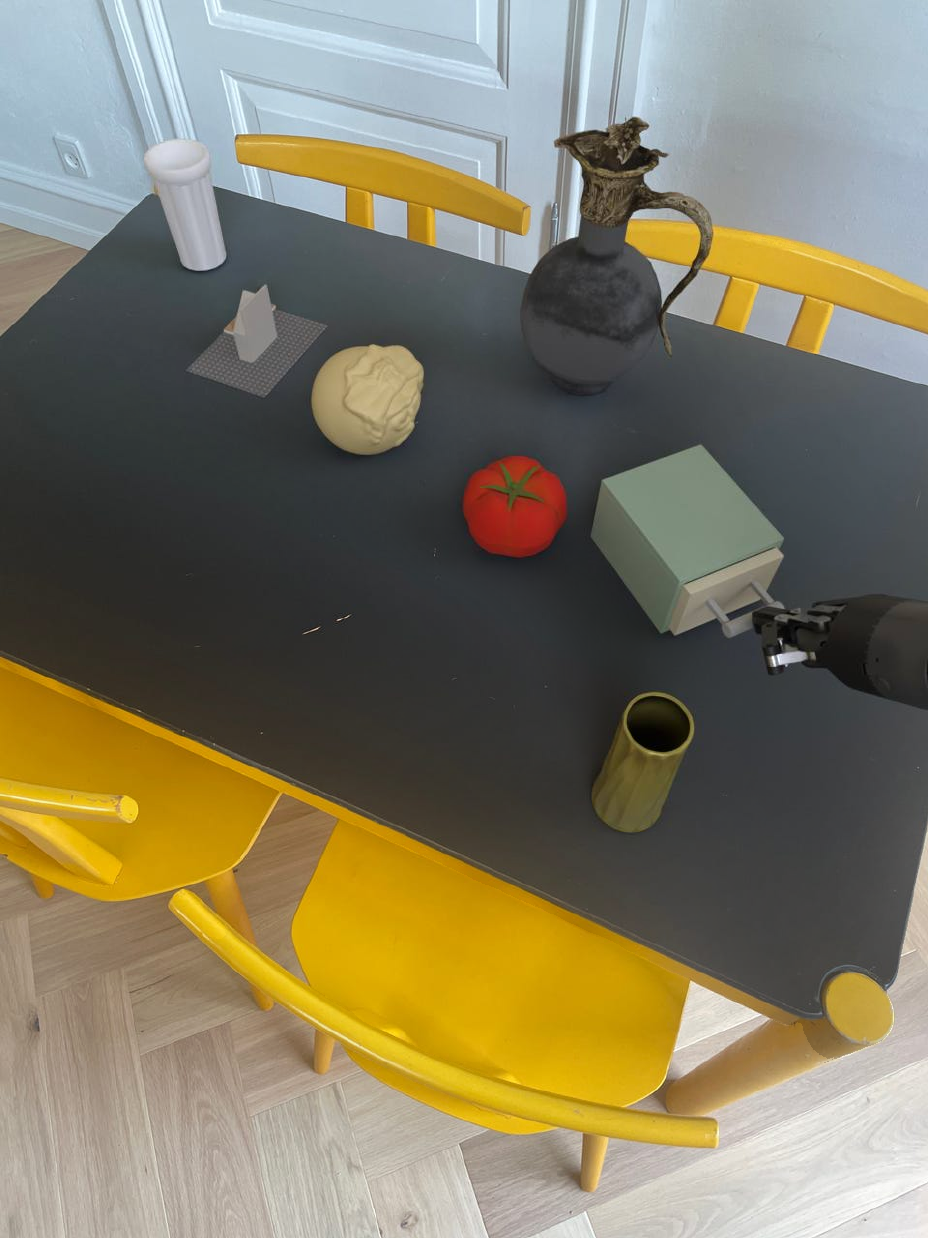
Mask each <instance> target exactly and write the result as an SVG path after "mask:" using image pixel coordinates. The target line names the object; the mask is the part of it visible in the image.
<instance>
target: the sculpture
mask: <svg viewBox="0 0 928 1238" xmlns="http://www.w3.org/2000/svg"><path fill="white" fill-rule="evenodd" d="M424 373H425V372H424V367H423V365H422V363H421V362H419V360H417V359H416V358H415V356H414V355H413V353H412V352H411V351H410V350H409V349H408V348H406V347H405V346H402V345H396V344H395V345H393V344H392V345H389V346H388V345H387V346H381V345H378V344H375V343H374V344H370V345H368V346H367V345H366V346H365V345H364V346H363V345H361V346H353V347H352V346H351V347H348V348H345V349H343V350H341V351H339V352H337V353H335V354H333V355H332V356H331V357H329V358H328V359H327V360H326V361H325V363H323V365H322V366H321V368H320V369H319V371H318V373H317V375H316V377H315V379H314V382H313V385H312V390H311V410H312V414H313V418H314V420H315V422H316V424H317V426H318V428H319V430H320V432H322V434H323V435H324V437H326V439H328V440H329V441H330V442H331V443H332V444H333V445H335V446H336V447H338V448H339V449H341V450H343V451H346V452H348V453H352V454H355V455H362V456H372V455H379V454H381V453H385V452H387V451H389V450H391V449H393V448H395V447H399V446H400V445H402V443H403V442H405V440H407V439H408V438H409V436H410V434H411V433H412V432H413V430H414V428H415V425H416V424H415V419H416V415H417V413H418V412H419V409H420V406H421V399H422V394H421V392H422V389H423V387H424V375H425V374H424Z"/></svg>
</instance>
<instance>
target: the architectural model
mask: <svg viewBox="0 0 928 1238" xmlns="http://www.w3.org/2000/svg"><path fill="white" fill-rule="evenodd" d="M327 328H328V325H326V324H323V323H321V322H317V321H313V320H310V319H308V318H305V317H302V316H298V315H294V314H291V313H288V312H285V311H282V310H279V309H277V307H276V304H273V303H271V298H270V293H269V289H268V285H267V284H264V285H263V286H261V288H260V287H258V288H257V292H256V293H255V292H251V291H249V290H245V289H243V290H242V293H241V297H240V302H239V305H238V309H237V313H236V316H235V317H234V318H233V319H232V320H231V321H230V322H229V323H228V324H227V325H226V326H225V327H224V328H223V332H222V333H221V334H220V335H219V336H218V337H217V338H216V339H215V341H214V342H212V343H211V344H210V345H209V346H208V348H206V349H205V350H204V351H203V353H202V354H200V356H198V358H197V359H196V360H195V361H194V362H193V363H192V364H190V366H189V367H188V368H187V369H186V370H185V371H186V372H188V373H191V374H193V375H197V376H199V377H203V378H206V379H209V380H213V381H215V382H217V383H221V384H223V385H225V386H229V387H232V388H235V389H238V390H240V391H244V392H247V393H249V394H252V395H255V396H259V397H261V398H264V399H265V398H266V397H267V395H269V393H271V391H272V390H273V389H274V388H275V386H276V385H277V384H278V383H279V382H280V381H281V380H282V379H283V377H284V376H286V375H287V373H288V372H289V370H291V368H292V367H293V366H294V365H296V363H297V361H299V359H300V358H302V356H303V355H304V354H305V353H306V351H307V350H308V349H310V347H311V346H312V344H314V343H315V341H316V340H317V339H318V338H319V337H320V336H321V334H322V333H323V332H324V331H325V330H326V329H327Z"/></svg>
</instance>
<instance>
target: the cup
mask: <svg viewBox="0 0 928 1238" xmlns="http://www.w3.org/2000/svg"><path fill="white" fill-rule="evenodd" d="M211 161H212V159H211V151H210V150H209V149H208V148H207V146H206V145H205V144H204V143H202V142H200V141H198V140H197V139H196V140H195V139H189V138H171V139H167V140H163V141H160V142H157V143H156V144H154V145H152V146H150V147H149V149H148V150H147V151H145V152H144V158H143V164H144V166H145V168H146V171H147V172H148V174H149V176H151V178H152V180H153V183H154V185H155V188H156V191H157V194H158V197H159V200H160V203H161V206H162V209H163V212H164V215H165V218H166V221H167V224H168V227H169V230H170V233H171V236H172V238H173V242H174V245H175V247H176V250H177V251H176V252H177V253H178V257H179V261H180V264H181V265H182V266H183V267H184V268H187V269H188V270H192V271H197V272H198V271H209V270H212V269H216V268H217V267H220V265H222V264H223V263H224V262H225V260H226V259H227V251H226V245H225V241H224V237H223V232H222V227H221V226H222V225H221V221H220V217H219V212H218V211H219V210H218V207H217V201H216V196H215V190H214V186H213V180H212V176H211V171H210V170H211V164H212V162H211Z"/></svg>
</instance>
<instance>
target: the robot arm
mask: <svg viewBox="0 0 928 1238" xmlns="http://www.w3.org/2000/svg"><path fill="white" fill-rule="evenodd" d="M764 606H765V607H764ZM764 606H762V607H763V608H762V607H759V608H760V609H759V608H758V610H757V609H755V610H756V611H755V610H752V611H753V612H752V611H751V612H752V622H753V626H754V628H753V630H754V633H755V634H756V635H761V649H762V653H763V658H764V663H765V667H766V671H767V674H768V676H779V675H781V674H783V673H784V672H785V669H784V668H788V667H789V666H790V664H795V663H800V664H802V665H803V666H804V667H806V668H808V669H826V670H828V671H829V672H830V673H831V674H832V675H833V676H834V677H835V678H836V679H837V680H838V681H839V682H840V683H841V684H843V685H844V686H846V687H847V688H849V689H851V690H854V691H858V692H861V693H864V694H868V695H870V696H871V695H872V696H875V697H877V698H882V699H885V700H889V701H892V702H896V703H899V704H902V705H907V706H910V707H914V708H917V709H920V710H924V711H928V600H921V599H914V598H908V597H902V596H893V595H888V594H885V593H870V594H864V595H861V596H853V597H846V598H845V597H844V598H838V599H828V600H818V601H816V602H813V603H811V607H812V608H810V607H801V606H800V607H799V606H798V607H794V608H791V609H786V608H784V609H781V608H776V607H770V606H766V605H764Z"/></svg>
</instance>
